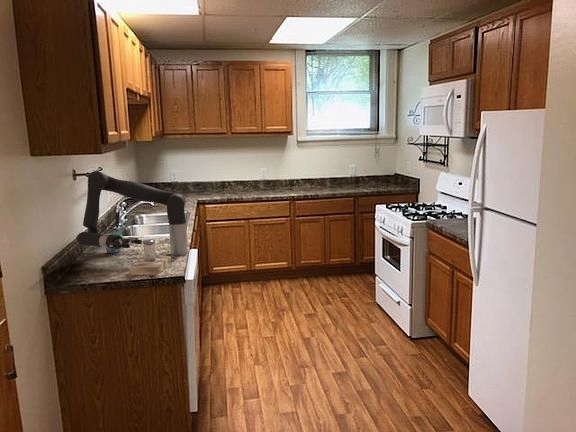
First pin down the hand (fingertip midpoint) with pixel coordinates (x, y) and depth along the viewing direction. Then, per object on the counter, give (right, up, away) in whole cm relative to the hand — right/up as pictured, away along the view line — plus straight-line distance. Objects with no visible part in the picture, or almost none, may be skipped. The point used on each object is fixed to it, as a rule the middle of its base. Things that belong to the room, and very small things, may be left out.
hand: (135, 244), depth 228 cm
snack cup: (-23, -7, +33) cm, 41 cm away
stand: (+8, -12, -1) cm, 15 cm away
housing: (+8, -8, -2) cm, 12 cm away
